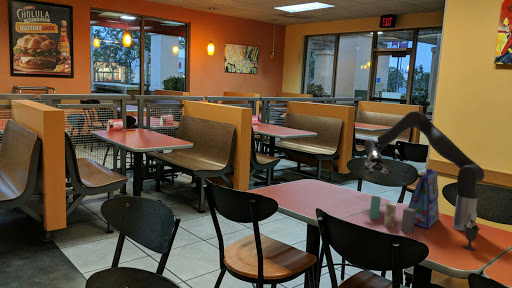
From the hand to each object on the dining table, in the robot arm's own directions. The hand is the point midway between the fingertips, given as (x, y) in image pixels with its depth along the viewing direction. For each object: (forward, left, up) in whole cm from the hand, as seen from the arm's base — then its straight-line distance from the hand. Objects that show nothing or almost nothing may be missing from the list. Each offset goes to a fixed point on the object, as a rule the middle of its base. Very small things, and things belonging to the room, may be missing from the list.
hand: (379, 174), depth 220 cm
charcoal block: (-24, +6, -22) cm, 33 cm away
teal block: (-3, +5, -22) cm, 23 cm away
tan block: (-14, +7, -22) cm, 27 cm away
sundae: (-51, -1, -23) cm, 56 cm away
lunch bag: (-19, -14, -23) cm, 33 cm away
